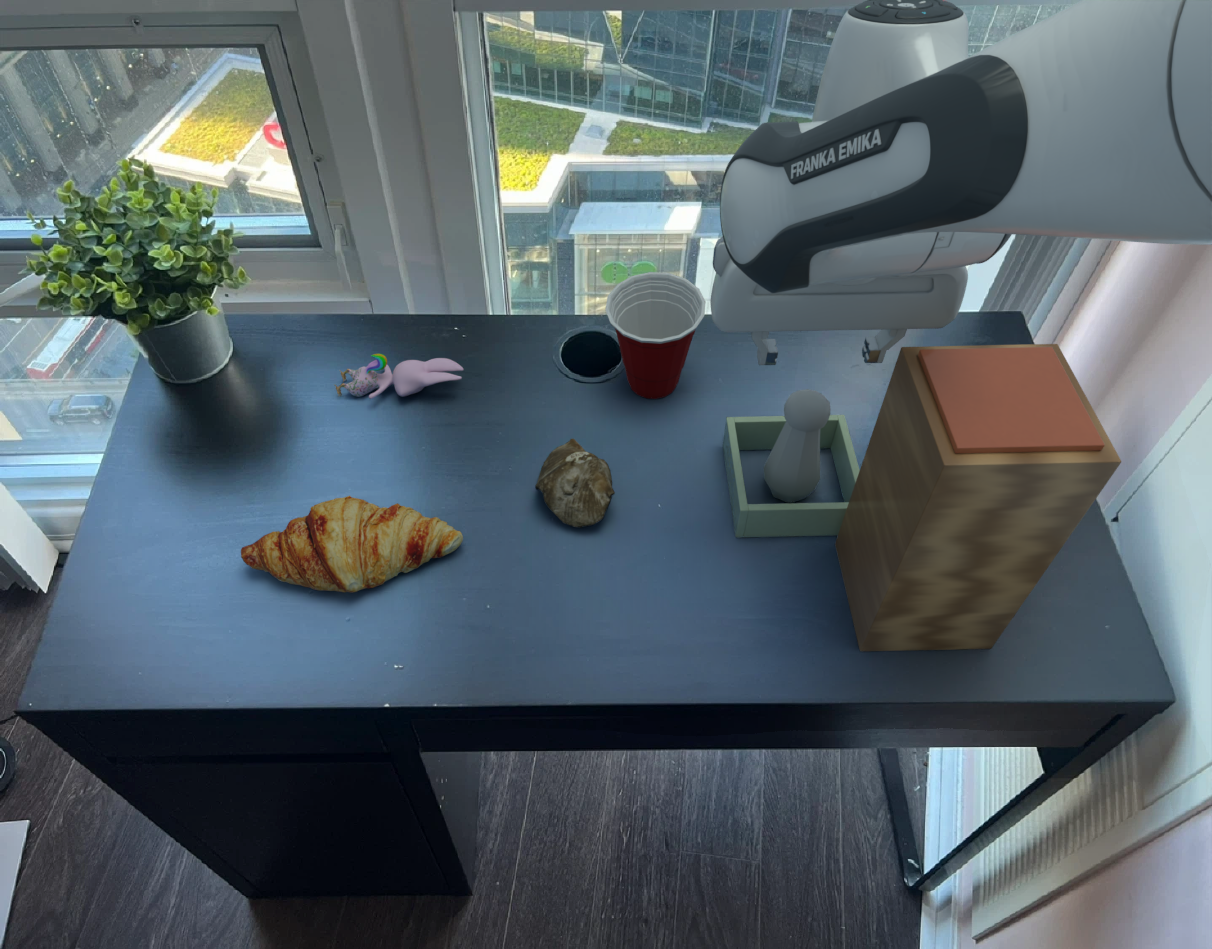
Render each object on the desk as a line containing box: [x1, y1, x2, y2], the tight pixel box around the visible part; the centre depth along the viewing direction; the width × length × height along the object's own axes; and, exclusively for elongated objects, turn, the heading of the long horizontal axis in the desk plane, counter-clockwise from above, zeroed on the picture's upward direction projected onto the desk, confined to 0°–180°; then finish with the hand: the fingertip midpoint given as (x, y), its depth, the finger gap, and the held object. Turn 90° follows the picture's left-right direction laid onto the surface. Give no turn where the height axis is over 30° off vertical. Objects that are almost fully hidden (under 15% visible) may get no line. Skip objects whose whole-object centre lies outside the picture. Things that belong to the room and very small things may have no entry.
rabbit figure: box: [334, 353, 464, 400], centre depth 97 cm, size 6×6×15 cm
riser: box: [834, 343, 1122, 652], centre depth 70 cm, size 12×12×26 cm
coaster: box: [918, 347, 1105, 453], centre depth 60 cm, size 10×10×1 cm
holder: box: [722, 414, 860, 538], centre depth 87 cm, size 13×13×4 cm
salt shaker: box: [763, 388, 831, 504], centre depth 84 cm, size 6×6×13 cm
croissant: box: [240, 495, 464, 593], centre depth 82 cm, size 21×10×8 cm, turn 98°
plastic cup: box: [604, 271, 707, 400], centre depth 95 cm, size 11×11×12 cm
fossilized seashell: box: [534, 438, 616, 529], centre depth 87 cm, size 8×7×10 cm
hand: (818, 359), depth 75 cm, fingers open, 8 cm apart
